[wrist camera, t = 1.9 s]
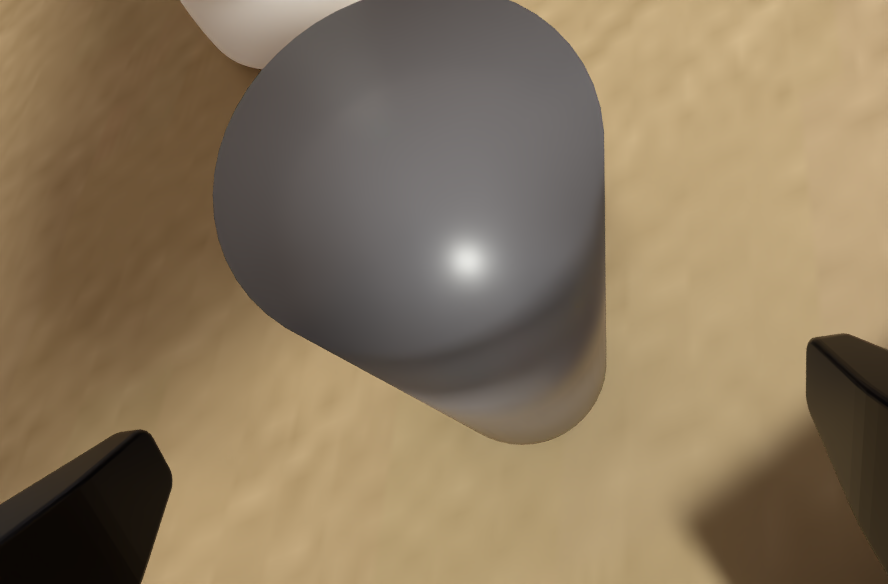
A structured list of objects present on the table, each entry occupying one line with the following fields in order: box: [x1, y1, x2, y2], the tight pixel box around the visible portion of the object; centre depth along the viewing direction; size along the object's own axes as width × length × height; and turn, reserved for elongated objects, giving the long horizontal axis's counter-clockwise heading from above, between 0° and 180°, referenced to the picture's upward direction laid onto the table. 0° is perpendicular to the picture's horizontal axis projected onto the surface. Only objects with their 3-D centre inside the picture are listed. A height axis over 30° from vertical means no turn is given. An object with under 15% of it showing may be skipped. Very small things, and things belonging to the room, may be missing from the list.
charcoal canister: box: [213, 0, 606, 445], centre depth 14 cm, size 5×5×12 cm
